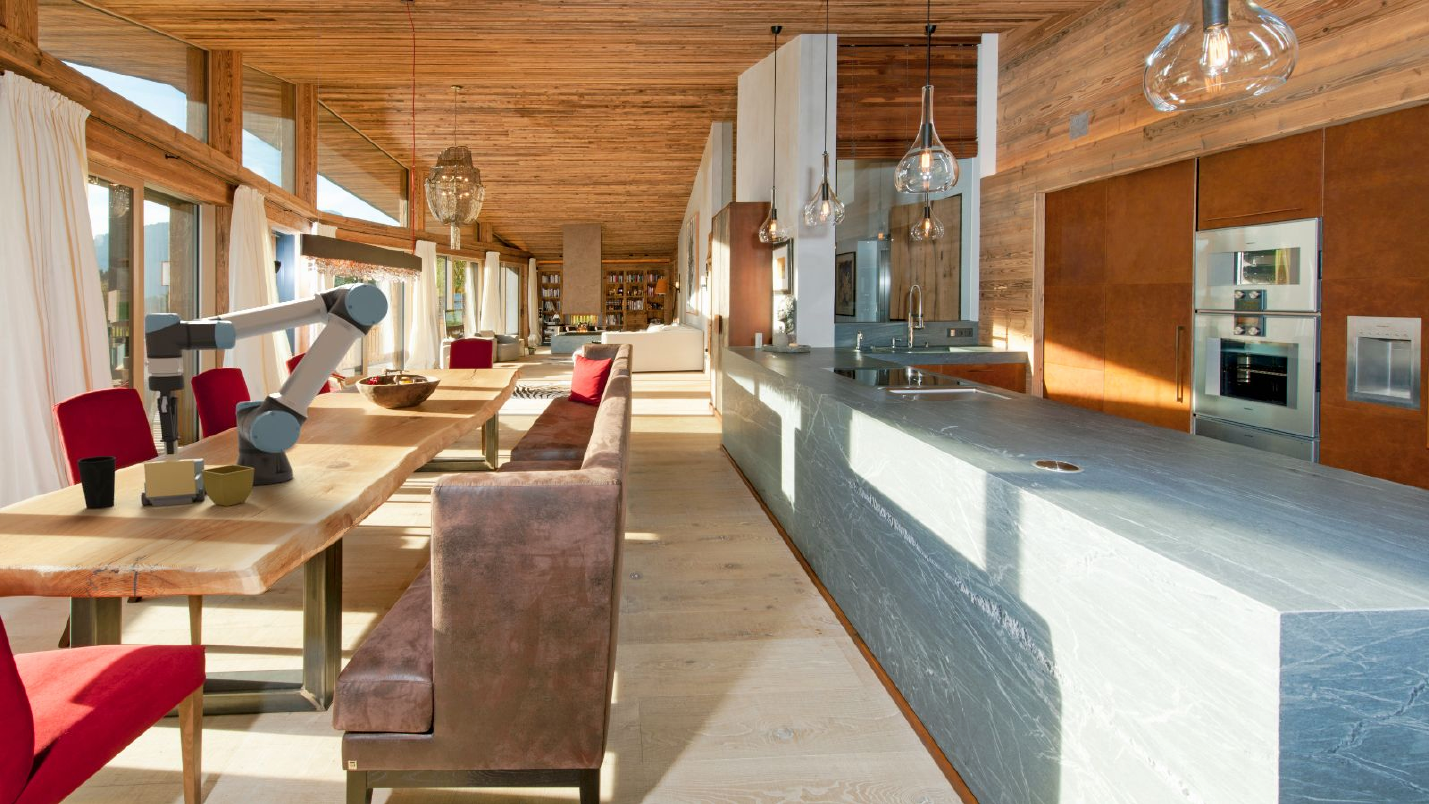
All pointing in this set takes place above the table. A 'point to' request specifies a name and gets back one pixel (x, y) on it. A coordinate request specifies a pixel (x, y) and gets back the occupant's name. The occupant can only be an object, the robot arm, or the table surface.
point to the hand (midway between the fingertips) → (172, 466)
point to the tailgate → (170, 479)
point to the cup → (98, 481)
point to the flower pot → (228, 484)
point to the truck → (181, 500)
